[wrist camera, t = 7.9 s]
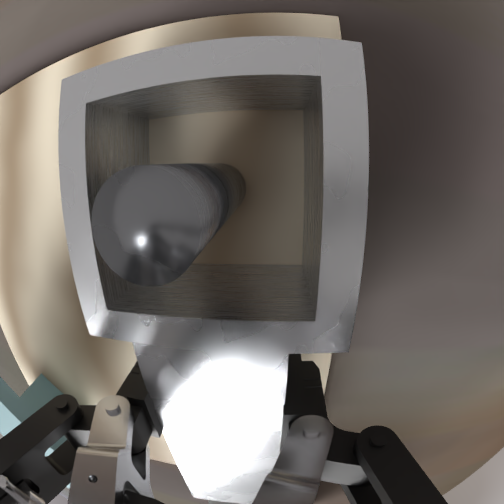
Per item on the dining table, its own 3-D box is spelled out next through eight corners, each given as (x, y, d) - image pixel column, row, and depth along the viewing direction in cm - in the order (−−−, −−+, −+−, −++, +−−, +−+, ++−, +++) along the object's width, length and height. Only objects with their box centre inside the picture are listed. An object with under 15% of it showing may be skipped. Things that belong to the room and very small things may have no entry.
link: (126, 100, 9) (61, 79, 5) (330, 85, 8) (361, 42, 5) (182, 444, 15) (167, 492, 11) (300, 452, 14) (302, 504, 10)
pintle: (248, 162, 11) (196, 160, 3) (249, 208, 11) (204, 289, 4) (203, 164, 11) (86, 172, 4) (205, 208, 11) (101, 283, 4)
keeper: (58, 306, 14) (-22, 376, 7) (146, 383, 15) (96, 480, 8) (36, 368, 16) (-13, 422, 9) (101, 424, 17) (64, 489, 10)
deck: (332, 28, 8) (338, 16, 7) (303, 461, 16) (303, 474, 15) (-17, 116, 10) (-29, 116, 9) (58, 416, 18) (53, 424, 17)
